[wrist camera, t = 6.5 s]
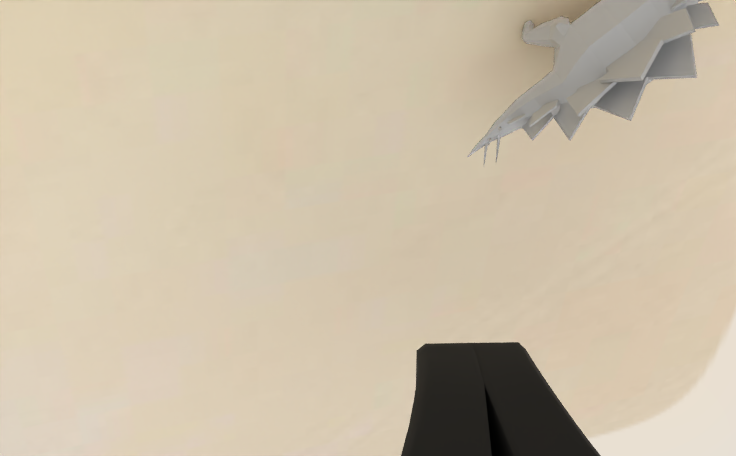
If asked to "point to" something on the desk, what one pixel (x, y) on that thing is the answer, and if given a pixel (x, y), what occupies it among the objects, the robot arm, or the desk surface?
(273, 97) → the desk surface
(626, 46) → the stegosaurus
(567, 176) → the desk surface
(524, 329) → the desk surface
